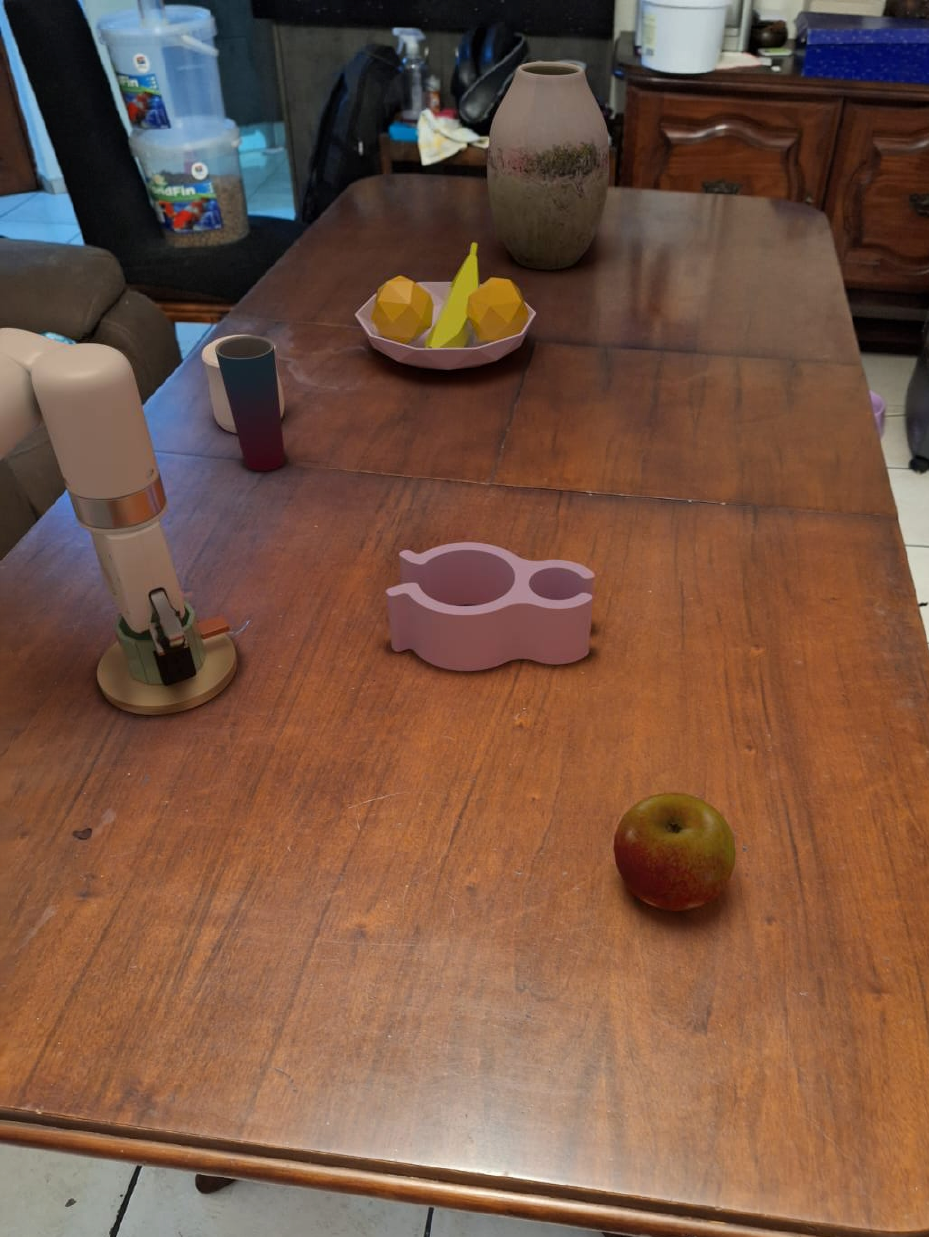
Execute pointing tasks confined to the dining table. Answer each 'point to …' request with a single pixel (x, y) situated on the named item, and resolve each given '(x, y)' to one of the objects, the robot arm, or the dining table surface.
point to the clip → (489, 607)
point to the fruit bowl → (447, 319)
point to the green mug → (141, 645)
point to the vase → (548, 165)
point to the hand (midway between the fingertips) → (165, 655)
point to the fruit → (674, 851)
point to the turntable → (173, 697)
